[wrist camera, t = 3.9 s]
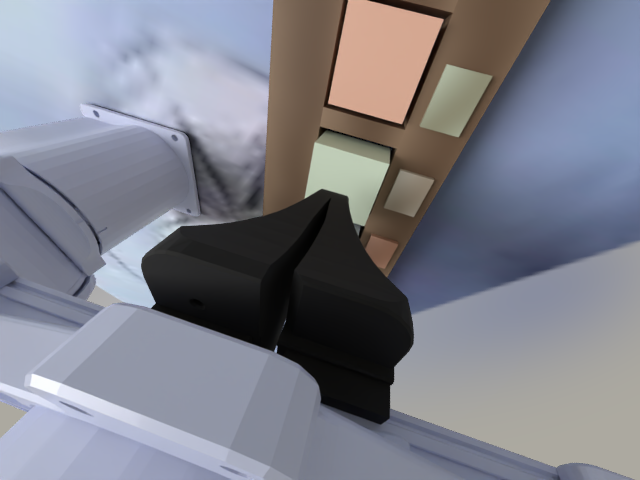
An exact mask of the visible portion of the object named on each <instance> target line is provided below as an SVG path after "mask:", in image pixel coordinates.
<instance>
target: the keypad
mask: <svg viewBox="0 0 640 480" xmlns="http://www.w3.org/2000/svg"><path fill="white" fill-rule="evenodd" d="M368 1H372V2H376V3H380V4H384V5H388V6H392V7H396V8H400V9H404V10H408V11H412V12H416V13H420V14H424V15H428V16H432V17H436V18H440V19H444V20H443V23H442V25H441V28H440V30H439V33H438V35H437V38H436V40H435V43H434V46H433V48H432V51H431V53H430V56H429V58H428V61H427V63H426V66H425V68H424V71H423V73H422V76H421V78H420V81H419V83H418V86H417V88H416V91H415V93H414V96H413V98H412V101H411V103H410V106H409V108H408V111H407V114H406V116H405V119H404V121H403V123H402V124H399V123H396V122H392V121H388V120H385V119H381V118H378V117H374V116H371V115H367V114H364V113H360V112H357V111H353V110H349V109H346V108H342V107H339V106H335V105H332V104H328V101H329V96H330V91H331V86H332V81H333V76H334V71H335V65H336V60H337V55H338V50H339V45H340V40H341V35H342V30H343V24H344V19H345V14H346V9H347V4H348V0H273V20H272V40H271V60H270V80H269V100H268V120H267V140H266V160H265V181H264V201H263V216H265V215H268V214H271V213H274V212H277V211H280V210H282V209H285V208H287V207H289V206H291V205H293V204H295V203H297V202H299V201H301V200H303V199H305V193H306V187H307V182H308V176H309V171H310V165H311V160H312V154H313V149H314V143H315V141H316V140H317V139H318V138H319V137H320V136H321V135H322V134H323V133H324V132H325V131H326V130H327V129H331V130H334V131H338V132H341V133H345V134H348V135H352V136H355V137H358V138H362V139H365V140H369V141H372V142H376V143H379V144H383V145H386V146H390V147H393V149H392V151H391V154H390V164H389V167H388V169H387V172H386V174H385V177H384V179H383V182H382V184H381V187H380V189H379V192H378V194H377V196H376V199H375V201H374V204H373V206H372V209H371V211H370V214H369V216H368V219H367V221H366V224H365V226H362V227H361V229H360V232H359V236H358V237H359V239H360V241H361V243H362V245H363V247H364V248H365V250H366V252H367V253H368V255H369V256H370V258H371V259H372V260H373V262H374V263H375V264H376V266H377V267H378V268H379V269H380V270H381V272H382V273H383V274H384V275H385V276H386V277H388V275H389V273H390V272H391V270H392V268H393V267H394V265H395V263H396V261H397V260H398V258H399V256H400V255H401V253H402V251H403V250H404V248H405V246H406V245H407V243H408V241H409V239H410V238H411V236H412V234H413V233H414V231H415V229H416V228H417V226H418V224H419V223H420V221H421V219H422V217H423V216H424V214H425V212H426V211H427V209H428V207H429V206H430V204H431V202H432V201H433V199H434V197H435V195H436V194H437V192H438V190H439V189H440V187H441V185H442V184H443V182H444V180H445V178H446V177H447V175H448V173H449V172H450V170H451V168H452V167H453V165H454V163H455V162H456V160H457V158H458V156H459V155H460V153H461V151H462V150H463V148H464V146H465V145H466V143H467V141H468V140H469V138H470V136H471V134H472V133H473V131H474V129H475V128H476V126H477V124H478V123H479V121H480V119H481V118H482V116H483V114H484V112H485V111H486V109H487V107H488V106H489V104H490V102H491V101H492V99H493V97H494V96H495V94H496V92H497V90H498V89H499V87H500V85H501V84H502V82H503V80H504V79H505V77H506V75H507V74H508V72H509V70H510V68H511V67H512V65H513V63H514V62H515V60H516V58H517V57H518V55H519V53H520V52H521V50H522V48H523V46H524V45H525V43H526V41H527V40H528V38H529V36H530V35H531V33H532V31H533V30H534V28H535V26H536V24H537V23H538V21H539V19H540V18H541V16H542V14H543V13H544V11H545V9H546V8H547V6H548V4H549V2H550V1H551V0H368Z"/></svg>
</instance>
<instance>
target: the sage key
mask: <svg viewBox="0 0 640 480" xmlns="http://www.w3.org/2000/svg"><path fill="white" fill-rule="evenodd" d="M389 164H390V148H387V147H383V146H380V145H377V144H373V143H370V142H366V141H363V140H359V139H356V138H352V137H349V136H346V135H342V134H339V133H335V132H332V131H328V130H326V131H325V132H324V133H323V134H322V135H321V136H320V137H319V138H318V139H317V140H316V141H315V143H314V149H313V154H312V160H311V165H310V171H309V176H308V182H307V187H306V193H305V198H307V197H308V196H310V195H312V194H313V193H315V192H317V191H318V190H320V189H325V190H329V191H332V192H335V193H339V194H342V195H346V196H348V198H349V208H350V213H351V217H352V221H353V223H355V224H359V225H362V226H365V224H366V221H367V219H368V216H369V214H370V211H371V209H372V206H373V204H374V201H375V199H376V196H377V194H378V192H379V189H380V187H381V184H382V182H383V179H384V177H385V174H386V172H387V169H388V167H389Z"/></svg>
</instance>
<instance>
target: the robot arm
mask: <svg viewBox="0 0 640 480" xmlns="http://www.w3.org/2000/svg"><path fill="white" fill-rule="evenodd" d="M80 109H81V111H82V114H83V116H84V117H80V118H75V119H69V120H63V121H58V122H52V123H47V124H41V125H35V126H30V127H24V128H18V129H13V130H7V131H2V132H0V401H1V402H4V403H6V404H8V405H11V406H13V407H16V408H18V409H20V410H23V411H25V412H27V413H26V414H25V415H24V416H23V417H22V418H21V419H20V420H19V421H18V422H17V423H16V424H15V425H14V426H13V427H12V428H11V429H10V430H8V431H7V432H6V433H5V434H4V435H3V437H1V438H0V480H634V479H632V478H629V477H626V476H623V475H620V474H617V473H614V472H611V471H609V470H606V469H603V468H600V467H597V466H594V465H589V464H583V463H569V464H564V465H560V466H558V467H557V468H556V467H553V466H550V465H547V464H544V463H541V462H539V461H536V460H533V459H530V458H527V457H525V456H522V455H519V454H516V453H514V452H511V451H508V450H505V449H502V448H499V447H497V446H494V445H491V444H488V443H485V442H483V441H480V440H477V439H474V438H471V437H469V436H466V435H463V434H460V433H457V432H454V431H452V430H449V429H446V428H443V427H440V426H437V425H435V424H432V423H429V422H426V421H423V420H421V419H418V418H415V417H412V416H409V415H407V414H404V413H401V412H398V411H395V410H393V409H390V385H392V384H393V382H394V367H395V366H396V365H397V363H398V362H399V361H400V360H401V359H402V358H403V357H404V356H405V355H406V354H407V353H408V352H409V350H410V349H411V347H412V345H413V341H414V340H413V339H414V332H413V321H412V317H411V312H410V307H409V303H408V299H407V297H406V296H405V295H404V294H403V293H402V292H401V291H400V290H399V289H398V288H397V287H396V286H395V285H394V284H393V283H392V282H391V281H390V280H389V279H388V278H387V277H386V276H385V275H384V274H383V273H382V272H381V270H380V269H379V268H378V267H377V266H376V264H375V263H374V262H373V260H372V259H371V258H370V256H369V255H368V253H367V252H366V250H365V248H364V247H363V245H362V243H361V241H360V239H359V237H358V234H357V232H356V229H355V227H354V224H353V221H352V217H351V213H350V208H349V198H348V196H346V195H342V194H339V193H335V192H332V191H329V190H325V189H320V190H318V191H317V192H315V193H313V194H312V195H310V196H308V197H307V198H305V199H303V200H301V201H299V202H297V203H295V204H293V205H291V206H289V207H287V208H285V209H282V210H280V211H277V212H274V213H271V214H268V215H265V216H261V217H257V218H252V219H248V220H244V221H238V222H231V223H223V224H214V225H198V226H181V227H180V228H178V229H177V230H176V231H174V232H173V233H172V234H170V235H169V236H168V237H167V238H165V239H164V240H163V241H161V242H160V243H159V244H157V245H156V246H155V247H154V248H152V249H151V250H150V251H148V252H147V253H146V254H145V256H144V257H143V258H142V264H141V269H142V272H143V276H144V278H145V280H146V283H147V285H148V287H149V289H150V291H151V293H152V296H153V298H154V300H155V302H156V304H155V305H154V306H153V307H152V308H151V309H150V308H147V307H144V306H139V305H133V304H128V303H114V304H111V305H109V306H108V307H103V306H100V305H97V304H94V303H92V302H89V301H87V299H88V297H89V295H90V294H91V292H92V291H93V289H94V287H95V284H96V278H95V276H94V274H93V273H94V272H96V271H97V270H99V269H100V268H101V267H103V266H104V265H106V263H105V261H104V260H103V259H102V257H101V255H103V254H104V253H106V252H107V251H109V250H110V249H112V248H113V247H115V246H116V245H118V244H119V243H121V242H122V241H124V240H125V239H127V238H128V237H130V236H131V235H133V234H134V233H136V232H137V231H139V230H140V229H142V228H143V227H145V226H146V225H148V224H150V223H151V222H153V221H154V220H156V219H157V218H159V217H160V216H162V215H163V214H165V213H166V212H168V211H169V210H171V209H174V210H177V211H180V212H183V213H186V214H189V215H192V216H195V217H197V216H199V215H200V213H201V212H200V206H199V200H198V193H197V187H196V181H195V174H194V168H193V162H192V155H191V149H190V143H189V138H188V136H187V135H186V134H185V133H183V132H180V131H177V130H174V129H171V128H167V127H164V126H161V125H157V124H154V123H151V122H148V121H144V120H141V119H138V118H134V117H131V116H128V115H125V114H121V113H118V112H115V111H111V110H108V109H105V108H101V107H98V106H95V105H92V104H88V103H82V104H80ZM175 135H176V136H177V138H178V139H177V138H176V137H175ZM285 320H286V322H285ZM284 323H285V324H284ZM283 326H284V327H283ZM281 331H282V332H281ZM276 345H277V346H278V348H277V353H275V352H274V350H275V348H276Z"/></svg>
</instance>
